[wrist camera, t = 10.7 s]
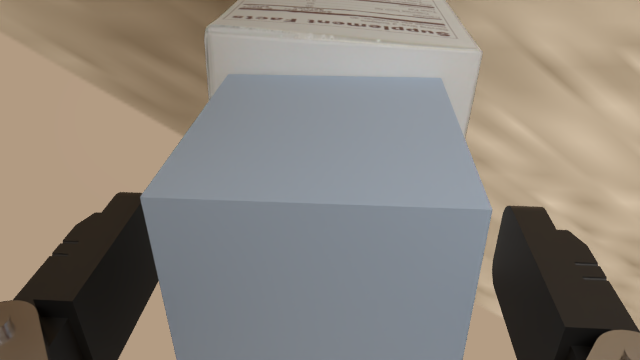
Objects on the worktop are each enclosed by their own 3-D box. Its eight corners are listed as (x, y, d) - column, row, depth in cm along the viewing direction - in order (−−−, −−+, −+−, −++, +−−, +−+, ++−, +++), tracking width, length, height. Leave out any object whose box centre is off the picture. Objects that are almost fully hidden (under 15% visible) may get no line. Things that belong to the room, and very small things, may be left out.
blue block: (228, 74, 13) (140, 197, 8) (441, 77, 13) (492, 209, 8) (245, 242, 16) (188, 413, 11) (420, 249, 16) (448, 430, 10)
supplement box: (408, 118, 27) (439, 278, 16) (271, 106, 27) (209, 255, 16) (433, -30, 23) (493, 49, 12) (272, -42, 23) (194, 25, 13)
